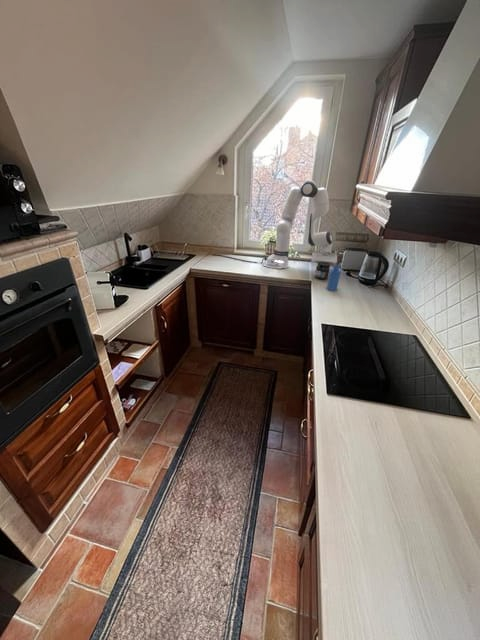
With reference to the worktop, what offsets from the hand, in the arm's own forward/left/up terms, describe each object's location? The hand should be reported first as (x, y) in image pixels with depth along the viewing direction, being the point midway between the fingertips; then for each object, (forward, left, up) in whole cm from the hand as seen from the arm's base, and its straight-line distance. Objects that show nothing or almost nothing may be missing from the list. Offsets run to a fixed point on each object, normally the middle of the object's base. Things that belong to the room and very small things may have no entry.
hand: (322, 267), depth 207 cm
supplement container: (0, -9, -6) cm, 11 cm away
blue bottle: (+8, -30, -6) cm, 31 cm away
